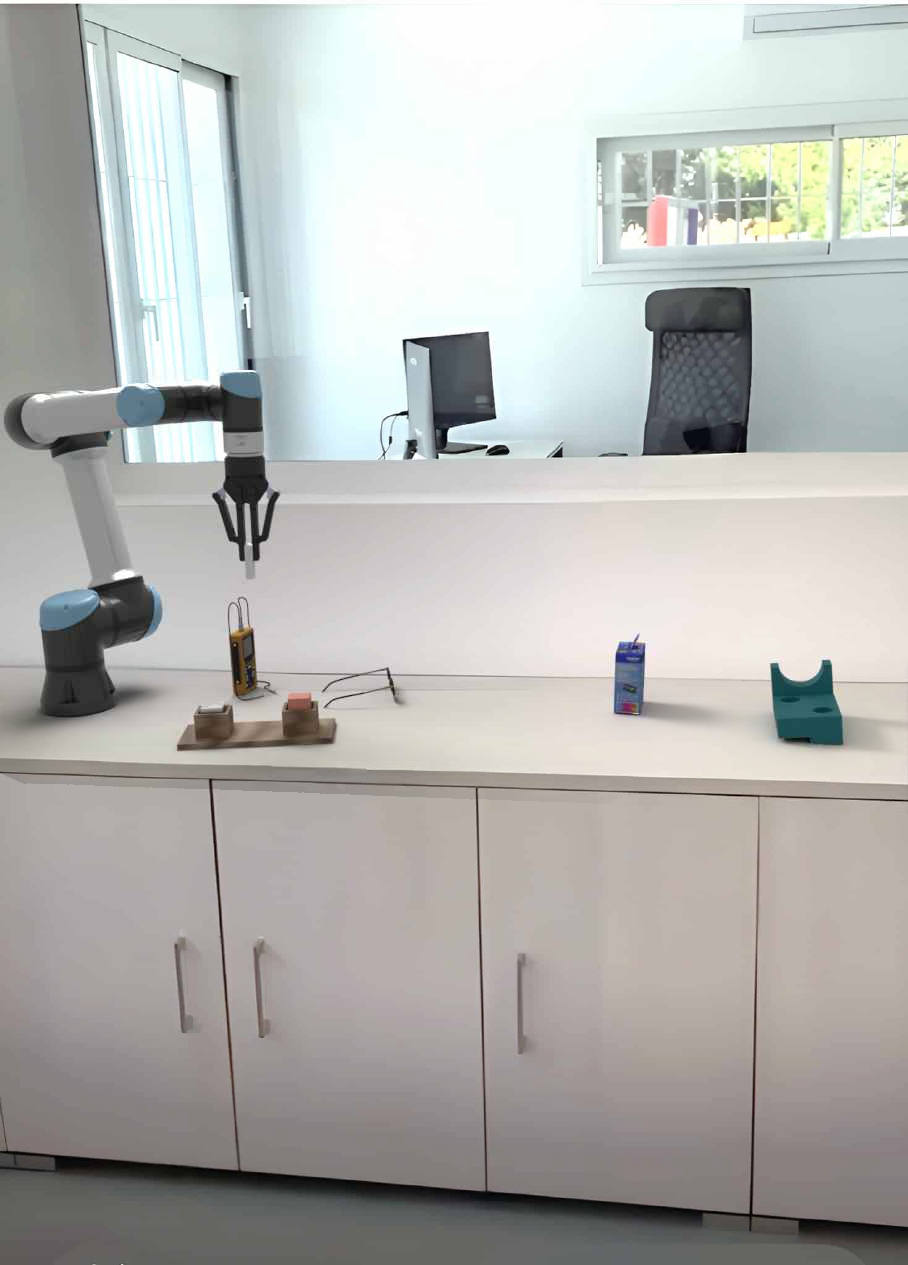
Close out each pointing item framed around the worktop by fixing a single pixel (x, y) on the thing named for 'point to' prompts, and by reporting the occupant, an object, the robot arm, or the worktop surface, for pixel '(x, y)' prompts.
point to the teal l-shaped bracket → (807, 707)
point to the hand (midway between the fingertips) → (250, 577)
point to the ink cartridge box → (629, 677)
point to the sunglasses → (367, 691)
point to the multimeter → (243, 658)
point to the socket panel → (257, 730)
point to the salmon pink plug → (299, 701)
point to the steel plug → (213, 708)
